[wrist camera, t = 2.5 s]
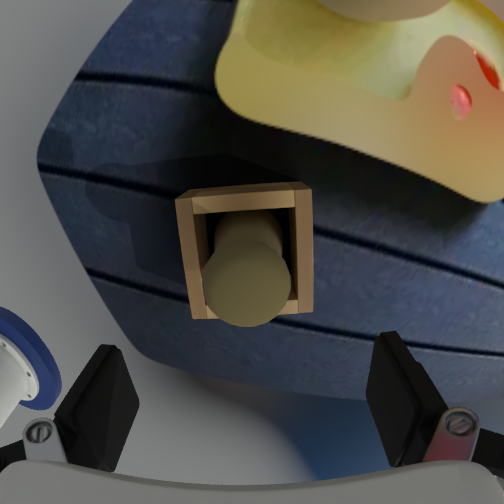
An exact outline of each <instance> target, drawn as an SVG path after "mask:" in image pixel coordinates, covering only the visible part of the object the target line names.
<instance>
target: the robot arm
mask: <svg viewBox="0 0 504 504" xmlns="http://www.w3.org/2000/svg"><path fill="white" fill-rule="evenodd" d="M38 392H39V381H38V377H37V375H36V372H35V370H34V368H33V366H32V365H31V363H30V362H29V360H28V359H27V357H26V356H25V355H24V353H23V352H22V351H21V350H20V349H19V348H18V347H17V346H16V345H15V344H14V343H13V342H12V341H11V340H10V339H8V338H7V337H5V336H4V335H2V334H0V428H1V426H2V425H3V424H4V422H5V421H6V419H7V418H8V416H9V415H10V414H11V412H12V411H13V410H14V408H15V407H16V406H17V404H18V403H19V402H20V400H26V401H29V400H32V399H34V398H35V397H36V395H37V394H38ZM366 399H367V402H368V405H369V407H370V410H371V413H372V416H373V418H374V421H375V424H376V426H377V429H378V432H379V435H380V438H381V441H382V444H383V447H384V450H385V453H386V456H387V458H388V462H389V464H390V466H391V467H394V466H395V468H392V469H387V470H383V471H378V472H373V473H367V474H361V475H356V476H349V477H343V478H336V479H329V480H322V481H313V482H303V483H290V484H274V485H208V484H192V483H180V482H170V481H160V480H153V479H146V478H139V477H133V476H127V475H122V474H116V473H111V472H114V470H115V468H116V466H117V463H118V460H119V458H120V455H121V452H122V450H123V447H124V445H125V442H126V439H127V437H128V434H129V431H130V429H131V426H132V424H133V421H134V419H135V416H136V414H137V411H138V408H139V398H138V396H137V393H136V391H135V388H134V385H133V383H132V380H131V377H130V375H129V372H128V369H127V367H126V363H125V361H124V358H123V355H122V352H121V350H120V349H117V347H116V346H115V345H106V344H101V345H100V346H99V347H98V349H97V350H96V352H95V353H94V354H93V356H92V357H91V359H90V360H89V362H88V363H87V365H86V366H85V368H84V369H83V371H82V372H81V374H80V375H79V376H78V378H77V380H76V381H75V383H74V384H73V386H72V387H71V389H70V390H69V392H68V393H67V395H66V396H65V398H64V400H63V401H62V403H61V404H60V406H59V407H58V409H57V411H56V412H55V414H54V415H55V418H54V420H53V421H52V420H51V419H48V418H37V419H34V420H32V421H31V422H29V423H28V424H27V425H26V427H25V428H24V430H23V439H22V440H20V441H17V442H15V443H12V444H9V445H7V446H4V447H1V448H0V504H504V435H502V434H498V433H495V432H492V431H489V430H485V429H482V428H480V420H479V418H478V416H477V415H476V413H474V412H473V411H472V410H470V409H467V408H465V407H453V408H451V409H449V408H448V407H447V405H446V403H445V402H444V400H443V398H442V397H441V395H440V393H439V392H438V390H437V389H436V387H435V385H434V384H433V382H432V380H431V379H430V377H429V376H428V374H427V372H426V371H425V369H424V368H423V366H422V365H421V364H420V363H419V362H416V361H415V359H414V358H413V356H412V355H411V353H410V351H409V350H408V348H407V347H406V345H405V344H404V342H403V341H402V339H401V337H400V336H399V334H398V333H397V332H396V331H389V332H382V333H380V335H379V337H376V338H375V341H374V347H373V354H372V360H371V366H370V372H369V377H368V383H367V388H366Z"/></svg>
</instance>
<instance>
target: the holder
mask: <svg viewBox="0 0 504 504" xmlns="http://www.w3.org/2000/svg"><path fill="white" fill-rule="evenodd" d="M175 206H176V214H177V222H178V229H179V237H180V244H181V251H182V258H183V264H184V271H185V277H186V283H187V290H188V295H189V301H190V307H191V313H192V318H193V319H207V318H208V319H209V318H218V317H217V316H216V315H215V314H214V313H213V312H212V311H211V310H210V309H209V307H208V305H207V303H206V301H205V299H204V295H203V289H202V282H201V281H202V277H203V272H204V268H205V266H206V264H207V262H208V261H209V259H210V252H209V244H208V235H207V226H206V217H205V213H216V212H228V211H241V210H256V209H270V208H287V207H288V211H289V234H290V260H291V275H290V281H291V290H290V293H289V296H288V299H287V302H286V305H285V306H284V308H283V309H282V310H281V311H280V313H279V314H278V315H281V314H294V313H305V312H313V217H312V190H311V189H310V188H309V187H308V186H306V185H305V184H304V183H302V182H301V181H300V182H281V183H264V184H250V185H237V186H224V187H213V188H203V189H192V190H188V191H187V192H185V193H184V194H182V195H181V196H179V197H178V198H176V199H175Z"/></svg>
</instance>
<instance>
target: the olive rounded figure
mask: <svg viewBox="0 0 504 504" xmlns="http://www.w3.org/2000/svg"><path fill="white" fill-rule="evenodd" d="M283 245H284V235H283V230H282V227H281V224H280V222H279V221H278V219H277V218H276V217H275V216H274V215H273V213H271V212H269V211H268V210H266V209H256V210H241V211H228V212H227V213H226V214H224V215H223V216H222V217H221V219H220V220H219V222H218V224H217V225H216V229H215V233H214V253H213V254H212V256H211V258H210V259H209V261H208V262H207V264H206V266H205V268H204V272H203V277H202V281H201V282H202V289H203V295H204V299H205V301H206V303H207V305H208V307H209V309H210V310H211V311H212V312H213V313H214V314H215V315H216V316H217V317H218V318H220V319H222V320H223V321H225V322H227V323H229V324H231V325H236V326H240V327H253V326H257V325H260V324H263V323H266V322H268V321H270V320H271V319H273V318H274V317H276V316H277V315H278V314H279V313H280V311H281V310H282V309H283V308H284V306H285V305H286V302H287V299H288V296H289V293H290V290H291V281H290V274H289V271H288V268H287V266H286V263H285V261H284V259H283V258H282V252H283Z"/></svg>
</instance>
